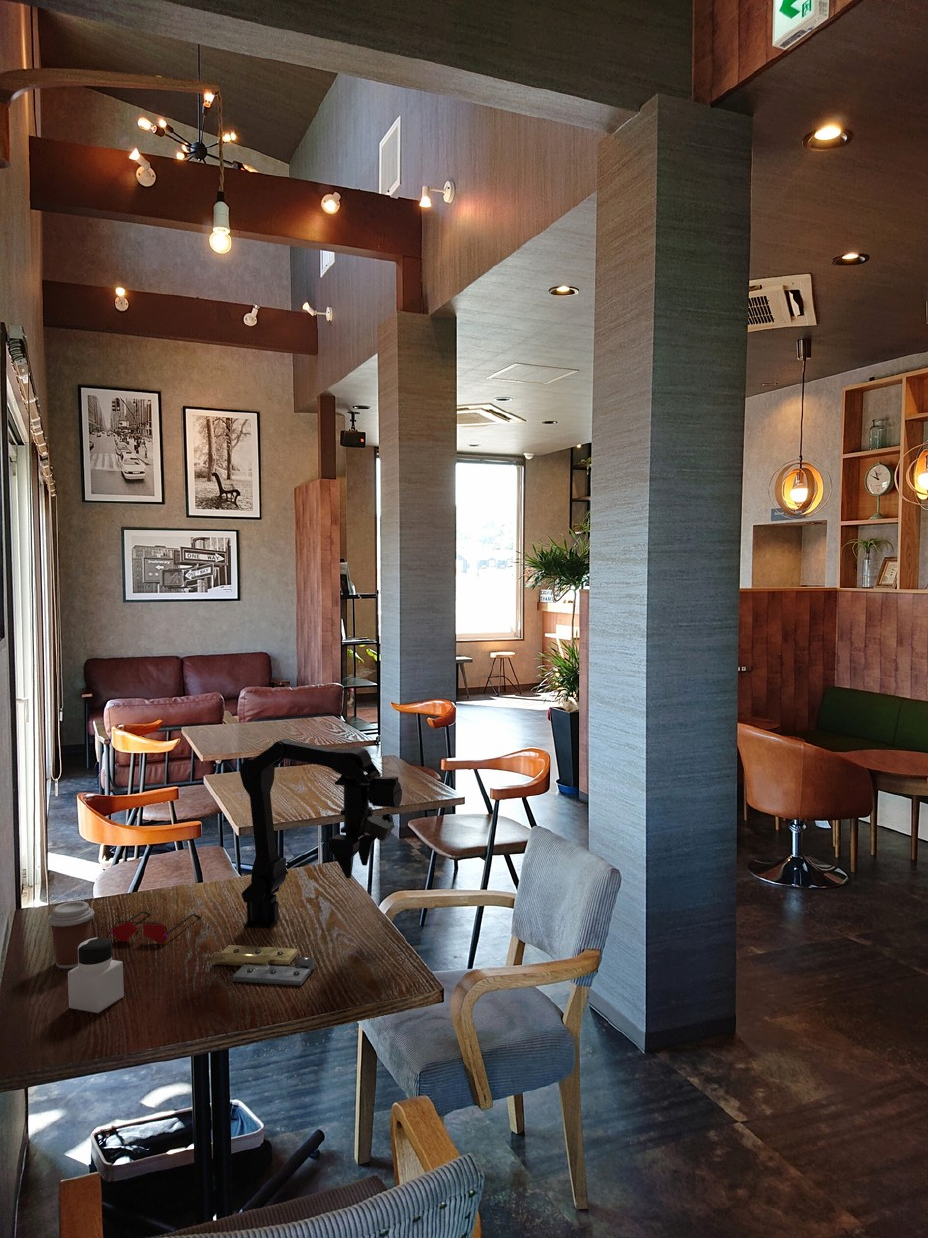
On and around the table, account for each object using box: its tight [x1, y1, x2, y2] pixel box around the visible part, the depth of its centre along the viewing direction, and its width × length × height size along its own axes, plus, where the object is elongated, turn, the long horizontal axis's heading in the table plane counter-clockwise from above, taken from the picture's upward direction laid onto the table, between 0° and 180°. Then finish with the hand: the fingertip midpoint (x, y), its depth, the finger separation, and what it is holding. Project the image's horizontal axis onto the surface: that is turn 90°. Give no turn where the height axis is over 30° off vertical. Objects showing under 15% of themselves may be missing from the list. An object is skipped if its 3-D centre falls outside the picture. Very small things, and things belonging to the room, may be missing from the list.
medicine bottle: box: [67, 936, 125, 1014], centre depth 166 cm, size 7×7×12 cm
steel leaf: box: [232, 956, 316, 987], centre depth 177 cm, size 14×8×2 cm, turn 80°
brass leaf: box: [210, 944, 299, 967], centre depth 184 cm, size 16×8×2 cm, turn 80°
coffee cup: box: [47, 900, 95, 970], centre depth 184 cm, size 9×9×12 cm
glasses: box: [110, 910, 202, 945], centre depth 202 cm, size 14×16×5 cm
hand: (356, 871), depth 198 cm, fingers open, 9 cm apart
